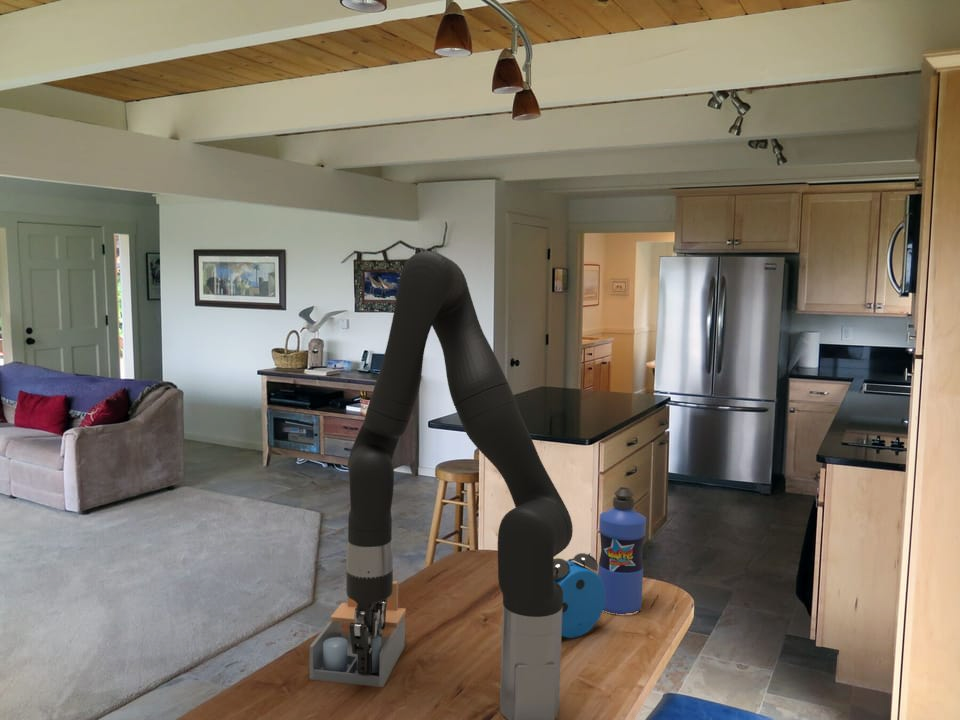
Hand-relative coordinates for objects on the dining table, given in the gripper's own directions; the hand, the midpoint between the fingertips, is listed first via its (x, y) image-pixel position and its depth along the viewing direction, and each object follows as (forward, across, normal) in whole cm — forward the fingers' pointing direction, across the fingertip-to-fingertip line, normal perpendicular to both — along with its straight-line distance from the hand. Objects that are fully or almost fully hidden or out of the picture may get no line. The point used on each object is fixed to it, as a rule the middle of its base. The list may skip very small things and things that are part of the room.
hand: (369, 665), depth 131 cm
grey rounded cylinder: (+2, 0, +6) cm, 6 cm away
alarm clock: (+3, +24, -32) cm, 40 cm away
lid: (-4, +9, +3) cm, 11 cm away
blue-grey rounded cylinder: (0, 0, 0) cm, 0 cm away
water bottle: (+3, +38, -42) cm, 57 cm away
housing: (+3, +4, +3) cm, 5 cm away
